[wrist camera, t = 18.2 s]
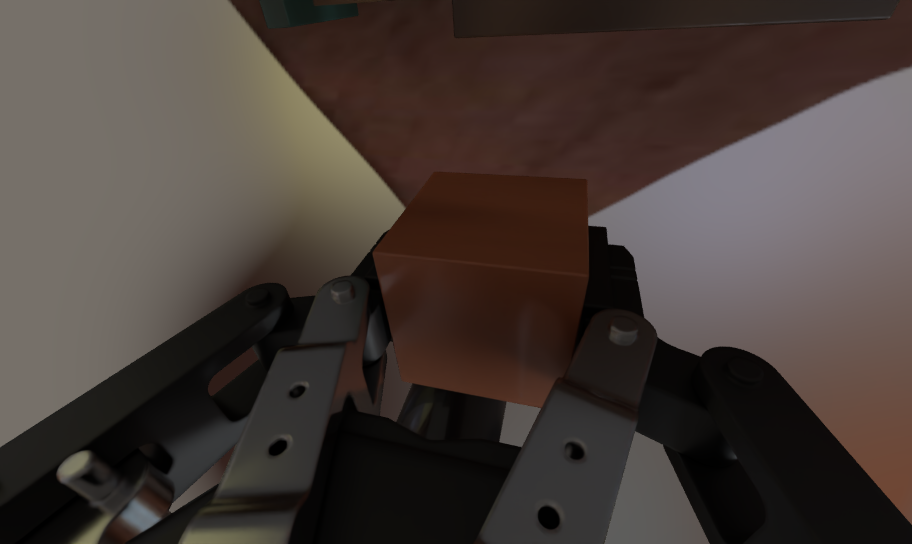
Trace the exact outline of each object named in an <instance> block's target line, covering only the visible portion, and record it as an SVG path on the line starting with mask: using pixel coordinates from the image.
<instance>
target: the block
mask: <svg viewBox="0 0 912 544" xmlns="http://www.w3.org/2000/svg"><path fill="white" fill-rule="evenodd" d="M373 258H374V262H375V267H376V271H377V276H378V280H379V284H380V289H381V293H382V297H383V302H384V306H385V310H386V315H387V319H388V323H389V328H390V332H391V336H392V341H393V345H394V349H395V353H396V358H397V362H398V367H399V371H400V376H401V379H402V381H404V382H409V383H414V384H419V385H424V386H430V387H435V388H440V389H445V390H450V391H455V392H461V393H466V394H471V395H476V396H481V397H486V398H492V399H497V400H502V401H507V402H512V403H517V404H523V405H528V406H534V407H538V408H542V406H543V404H544V402H545V400H546V398H547V396H548V394H549V392H550V390H551V388H552V386H553V384H554V382H555V380H556V379H557V378H558V377H561V378H562V377H563V376H564V374H565V372H566V370H567V368H568V366H569V364H570V362H571V359H572V357H573V355H574V351H575V346H576V341H577V336H578V331H579V326H580V320H581V315H582V310H583V305H584V300H585V295H586V290H587V285H588V280H589V243H588V189H587V180H586V179H569V178H549V177H529V176H509V175H489V174H470V173H450V172H434V173H433V174H432V175H431V177H430V178H429V179H428V181H427V182H426V183H425V185H424V186H423V187H422V188H421V190H420V191H419V192H418V194H417V195H416V196H415V198H414V199H413V200H412V201H411V203H410V204H409V205H408V207H407V208H406V209H405V210H404V212H403V213H402V214H401V216H400V217H399V218H398V220H397V221H396V222H395V224H394V225H393V226H392V227H391V229H390V230H389V231H388V233H387V234H386V235H385V236H384V238H383V239H382V240H381V242H380V243H379V244H378V246H377V247H376V248H375V249H374V251H373Z"/></svg>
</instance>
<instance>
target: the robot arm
mask: <svg viewBox="0 0 912 544" xmlns="http://www.w3.org/2000/svg"><path fill="white" fill-rule="evenodd" d="M388 231H389V230H388ZM388 231H386V232H385V233H383V235H382V236H381V237H380V239H379V240H378V241H377V242H376V244H375V245H374V246H373V247H372V249H371V251H370V252H369V253H368V254H367V255H366V256H365V258H364V259H363V260H362V262H361V263H360V264H359V265H358V267H357V268H356V270H355V271H354V272H353V273H352V274H351V276H343V277H338V278H335V279H333V280H331V281H329V282H327V283H325V284H324V285H323V286H322V287H321V288H320V289H319V290H318V292H317V294H316V296H306V297H296V298H290V297H289V295H288V292H287V290H286V288H285V287H284V286H283V285H281V284H278V283H265V284H260V285H256V286H254V287H251V288H249V289H247V290H245V291H243V292H242V293H241V294H239V295H237V296H236V297H234V298H233V299H231V300H230V301H228V302H226V303H225V304H223V305H222V306H220V307H219V308H217V309H215V310H214V311H212V312H211V313H209V314H208V315H206V316H204V317H203V318H201V319H200V320H198V321H197V322H195V323H194V324H192V325H190V326H189V327H187V328H186V329H184V330H183V331H181V332H179V333H178V334H176V335H175V336H173V337H172V338H170V339H169V340H167V341H165V342H164V343H162V344H161V345H159V346H158V347H156V348H155V349H153V350H151V351H150V352H148V353H147V354H145V355H144V356H142V357H141V358H139V359H137V360H136V361H134V362H133V363H131V364H130V365H128V366H126V367H125V368H123V369H122V370H120V371H119V372H117V373H116V374H114V375H112V376H111V377H109V378H108V379H107V380H105V381H103V382H101V383H100V384H98V385H97V386H96V387H94V388H92V389H91V390H89V391H87V392H86V393H84V394H83V395H81V396H80V397H78V398H77V399H75V400H74V401H72V402H70V403H69V404H67V405H66V406H64V407H63V408H61V409H59V410H58V411H56V412H55V413H53V414H52V415H50V416H49V417H47V418H45V419H44V420H42V421H41V422H39V423H38V424H36V425H34V426H33V427H31V428H30V429H28V430H27V431H25V432H24V433H22V434H20V435H19V436H17V437H16V438H14V439H13V440H11V441H9V442H8V443H6V444H5V445H3V446H2V447H0V544H604V543H605V539H606V535H607V532H608V528H609V524H610V521H611V517H612V513H613V509H614V506H615V502H616V499H617V495H618V491H619V488H620V484H621V480H622V477H623V473H624V469H625V465H626V462H627V458H628V454H629V451H630V447H631V443H632V440H633V436H634V433H635V431H636V432H638V433H640V434H642V435H644V436H646V437H648V438H650V439H653V440H655V441H657V442H659V443H661V444H663V447H664V449H665V452H666V454H667V456H668V458H669V460H670V462H671V464H672V466H673V468H674V470H675V472H676V474H677V477H678V478H679V481H680V483H681V485H682V487H683V489H684V491H685V493H686V495H687V497H688V499H689V501H690V504H691V506H692V508H693V510H694V512H695V514H696V516H697V518H698V520H699V522H700V524H701V526H702V529H703V530H704V533H705V535H706V537H707V539H708V541H709V543H710V544H912V525H911V524H910V522H909V521H908V520H907V519H906V518H905V517H904V516H903V514H902V513H901V512H900V511H899V510H898V509H897V508H896V506H895V505H894V504H893V503H892V502H891V501H890V499H889V498H888V497H887V496H886V495H885V494H884V493H883V492H882V490H881V489H880V488H879V487H878V486H877V485H876V483H874V481H873V480H872V479H871V478H870V477H869V475H868V474H867V473H866V472H865V471H864V470H863V469H862V468H861V466H860V465H859V464H858V463H857V462H856V460H855V459H854V458H853V457H852V456H851V455H850V454H849V453H848V451H847V450H846V449H845V448H844V447H843V446H842V445H841V443H840V442H839V441H838V440H837V439H836V438H835V436H834V435H833V434H832V433H831V432H830V431H829V430H828V429H827V427H826V426H825V425H824V424H823V423H822V422H821V420H820V419H819V418H818V417H817V416H816V415H815V414H814V412H813V411H812V410H811V409H810V408H809V407H808V406H807V404H806V403H805V402H804V401H803V400H802V399H801V398H800V396H799V395H798V394H797V393H796V392H795V391H794V389H793V388H792V387H791V386H790V385H789V384H788V383H787V381H786V380H785V379H784V378H783V377H782V376H781V375H780V373H778V372H777V370H776V369H775V368H774V367H773V366H771V365H770V364H769V363H768V362H766V361H765V360H763V359H762V358H760V357H758V356H756V355H755V354H752V353H750V352H747V351H745V350H741V349H738V348H733V347H714V348H711V349H709V350H707V351H705V352H704V353H703V355H702V356H701V357H700V356H697V355H695V354H692V353H689V352H686V351H684V350H681V349H678V348H676V347H674V346H671V345H669V344H667V343H665V342H664V341H662V340H661V339H659V338H658V337H657V333H656V330H655V329H654V327H653V326H652V325H651V323H650V322H648V321H647V320H646V319H645V318H644V314H643V308H642V303H641V297H640V291H639V286H638V282H637V275H636V271H635V263H634V258H633V256H632V255H631V254H630V253H629V251H628V250H627V249H626V248H625V247H624V246H619V245H608V240H607V229H606V227H597V226H588V243H589V280H588V285H587V290H586V295H585V300H584V305H583V310H582V315H581V320H580V326H579V331H578V336H577V341H576V346H575V351H574V355H573V357H572V359H571V362H570V364H569V366H568V368H567V370H566V372H565V374H564V376H563V377H562V378H561V377H558V378H557V379H556V380H555V382H554V384H553V386H552V388H551V390H550V392H549V394H548V396H547V398H546V400H545V402H544V404H543V406H542V408H541V410H540V412H539V414H538V416H537V418H536V420H535V422H534V424H533V426H532V428H531V430H530V432H529V434H528V436H527V438H526V440H525V442H524V444H523V446H522V447H518V446H514V445H509V444H504V443H500V442H499V441H500V435H501V430H502V424H503V419H504V413H505V408H506V402H507V401H502V400H497V399H492V398H486V397H481V396H476V395H471V394H466V393H461V392H455V391H450V390H445V389H440V388H435V387H430V386H424V385H419V384H414V383H412V385H411V388H410V390H409V393H408V395H407V397H406V400H405V402H404V404H403V407H402V409H401V412H400V414H399V416H398V419H397V421H396V422H394V421H393V420H391V419H389V418H386V417H381V416H380V408H381V401H382V393H383V385H384V378H385V370H386V363H387V354H386V347H387V346H388V344H389V342H390V341H392V336H391V332H390V328H389V323H388V319H387V315H386V310H385V306H384V302H383V297H382V293H381V289H380V284H379V280H378V276H377V271H376V267H375V262H374V258H373V251H374V249H375V248H376V247H377V246H378V244H379V243H380V242H381V240H382V239H383V238H384V236H385V235H386V234H387V233H388ZM392 342H393V341H392ZM250 347H252V348H253V350H254V352H255V353H256V355H257V357H258V360H257V361H256V362H255V363H253V364H252V365H251V366H250V367H248V368H247V369H246V370H245V371H243V372H242V373H241V374H240V375H238V376H237V377H236V378H235V379H234V380H232V381H231V382H230V383H228V384H227V385H226V386H225V387H223V388H222V389H221V390H220V391H218V392H217V393H216V394H214V395H213V396H210V395H209V393H208V385H209V382H210V380H211V379H212V378H213V376H214V375H215V374H217V373H218V372H219V371H220V370H222V369H223V368H224V367H226V366H227V365H228V364H229V363H231V362H232V361H233V360H235V359H236V358H237V357H239V356H240V355H241V354H242V353H244V352H245V351H247V350H248V349H249V348H250ZM236 444H237V445H236ZM235 445H236V447H235V449H234V451H233V454H232V456H231V458H230V461H229V463H228V465H227V467H226V470H225V472H224V475H223V476H222V479H221V481H220V483H219V484H217V485H216V486H214V487H213V488H211V489H209V490H208V491H206V492H204V493H203V494H201V495H200V496H198V497H197V498H195V499H194V500H192V501H190V502H189V503H187V504H186V505H184V506H182V507H181V508H179V509H178V510H176V511H175V512H173V513H171V512H170V511H169V509H170V507H171V505H172V503H173V502H174V501H175V500H176V499H177V498H178V497H180V496H181V495H182V494H183V493H184V492H185V491H186V490H187V489H188V488H189V487H190V486H191V485H193V483H195V482H196V481H197V480H198V479H199V478H200V477H201V476H202V475H203V474H204V473H205V472H207V471H208V470H209V469H210V468H211V467H212V466H213V465H214V464H215V463H216V462H217V461H218V460H219V459H220V458H221V457H223V456H224V455H225V454H226V453H227V452H228V451H229V450H230V449H231V448H232V447H233V446H235Z"/></svg>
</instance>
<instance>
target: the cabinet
mask: <svg viewBox="0 0 912 544" xmlns="http://www.w3.org/2000/svg"><path fill="white" fill-rule="evenodd" d="M899 1H900V0H452V4H453V22H454V36H455V38H471V37H494V36H518V35H541V34H564V33H588V32H611V31H634V30H658V29H681V28H704V27H728V26H751V25H774V24H798V23H821V22H844V21H868V20H886V19H889V18H890V17H891V16H892V14H893V12H894V10H895V8H896V6H897V4H898V3H899Z"/></svg>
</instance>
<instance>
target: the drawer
mask: <svg viewBox="0 0 912 544" xmlns="http://www.w3.org/2000/svg"><path fill="white" fill-rule="evenodd" d="M259 1H260V4H261V8H262V11H263V14H264V18H265V21H266V24H267V27H268V28H287V27H295V26H301V25H307V24H312V23H318V22H324V21H330V20H336V19H342V18H348V17H354V16H358V15H359V14H358V8H357V3H364V2H379V1H393V0H259Z"/></svg>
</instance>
